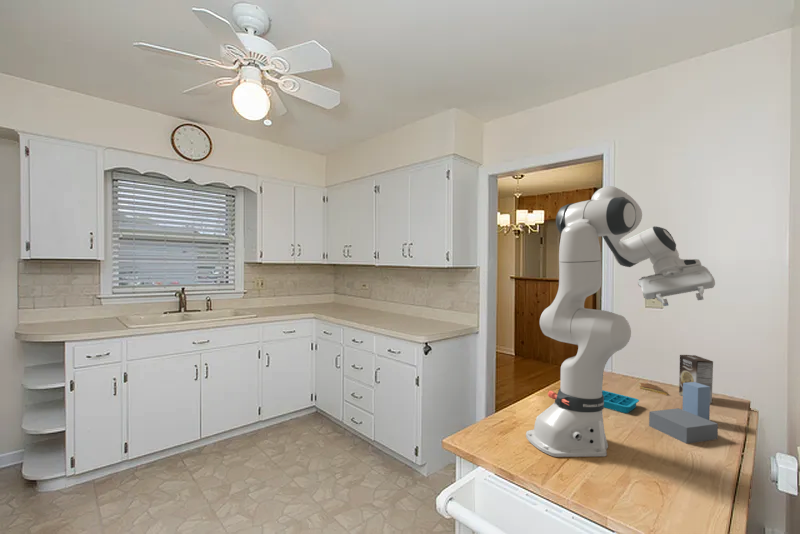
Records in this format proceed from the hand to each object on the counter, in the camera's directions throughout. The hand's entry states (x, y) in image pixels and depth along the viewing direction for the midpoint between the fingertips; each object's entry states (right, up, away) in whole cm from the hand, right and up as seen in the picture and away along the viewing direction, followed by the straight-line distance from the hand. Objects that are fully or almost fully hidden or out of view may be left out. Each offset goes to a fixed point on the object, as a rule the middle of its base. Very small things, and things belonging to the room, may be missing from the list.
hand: (682, 301), depth 121 cm
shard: (+13, -40, +33) cm, 53 cm away
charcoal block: (-5, -40, -7) cm, 41 cm away
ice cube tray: (-16, -40, +18) cm, 47 cm away
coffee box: (+22, -40, +22) cm, 51 cm away
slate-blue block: (+6, -40, +2) cm, 40 cm away
